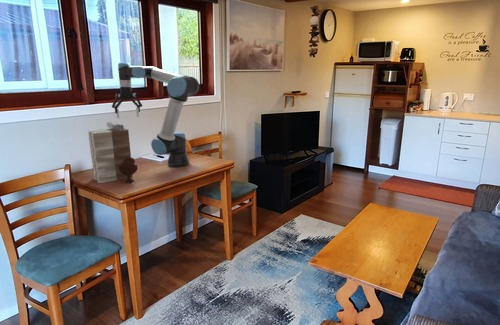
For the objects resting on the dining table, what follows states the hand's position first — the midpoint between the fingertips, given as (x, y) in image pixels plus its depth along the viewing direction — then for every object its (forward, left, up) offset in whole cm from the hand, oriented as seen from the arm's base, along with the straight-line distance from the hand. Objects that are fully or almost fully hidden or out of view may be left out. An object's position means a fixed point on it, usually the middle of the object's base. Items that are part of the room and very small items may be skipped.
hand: (128, 117), depth 239 cm
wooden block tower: (-1, +35, -33) cm, 48 cm away
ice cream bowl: (-14, +42, -33) cm, 56 cm away
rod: (-2, +28, -3) cm, 28 cm away
